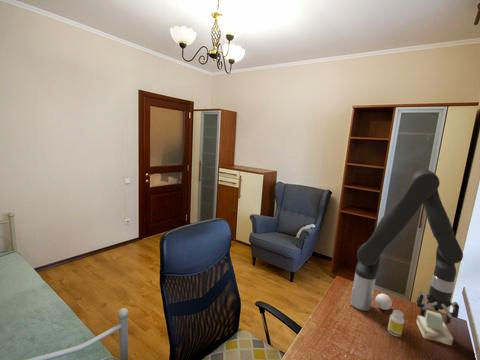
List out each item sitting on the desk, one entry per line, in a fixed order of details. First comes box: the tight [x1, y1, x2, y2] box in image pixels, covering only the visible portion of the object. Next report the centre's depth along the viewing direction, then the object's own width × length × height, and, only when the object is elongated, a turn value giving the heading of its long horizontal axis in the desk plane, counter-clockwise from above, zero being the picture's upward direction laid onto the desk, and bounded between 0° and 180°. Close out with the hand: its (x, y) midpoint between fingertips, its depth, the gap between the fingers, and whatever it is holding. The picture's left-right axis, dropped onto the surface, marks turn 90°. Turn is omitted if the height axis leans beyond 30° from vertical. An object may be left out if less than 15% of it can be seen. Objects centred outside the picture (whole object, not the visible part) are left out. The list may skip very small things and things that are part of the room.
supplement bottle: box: [387, 309, 405, 337], centre depth 108 cm, size 5×5×10 cm
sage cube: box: [424, 309, 444, 331], centre depth 109 cm, size 5×5×5 cm
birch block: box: [415, 315, 454, 346], centre depth 110 cm, size 10×10×4 cm
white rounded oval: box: [374, 293, 393, 311], centre depth 123 cm, size 10×7×7 cm
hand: (434, 319), depth 110 cm, fingers open, 8 cm apart
